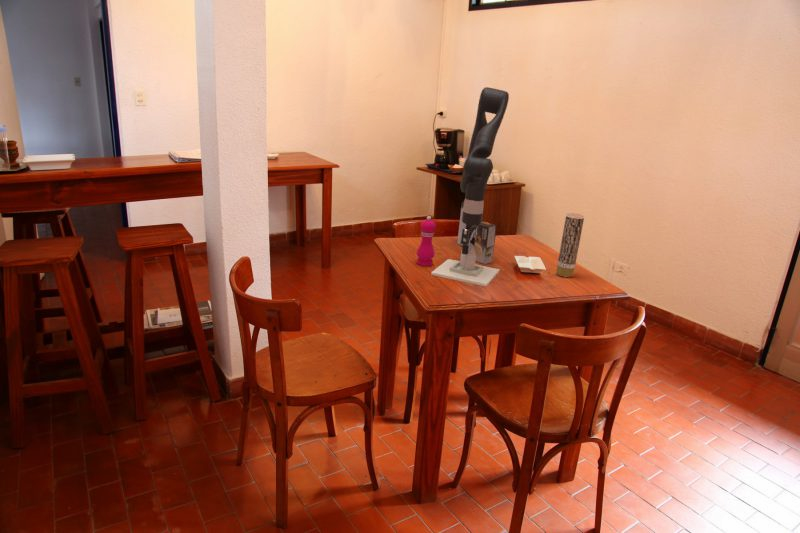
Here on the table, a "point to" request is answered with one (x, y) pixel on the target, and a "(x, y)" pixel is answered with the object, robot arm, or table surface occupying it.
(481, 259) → the coffee box
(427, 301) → the table surface
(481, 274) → the white switch plate
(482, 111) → the robot arm
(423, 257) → the pepper mill
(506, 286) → the table surface
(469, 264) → the white tea box
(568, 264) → the paper tube
